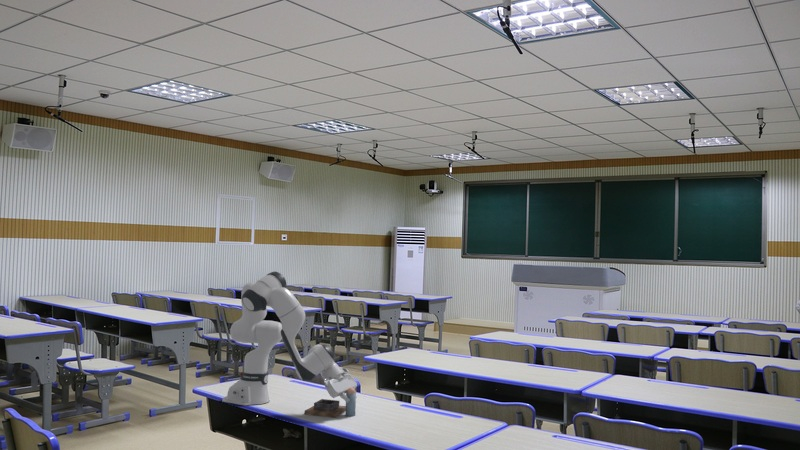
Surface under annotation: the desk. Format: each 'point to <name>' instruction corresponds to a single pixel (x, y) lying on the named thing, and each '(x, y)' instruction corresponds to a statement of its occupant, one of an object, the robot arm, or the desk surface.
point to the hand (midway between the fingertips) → (352, 400)
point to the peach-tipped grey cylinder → (351, 402)
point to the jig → (326, 408)
